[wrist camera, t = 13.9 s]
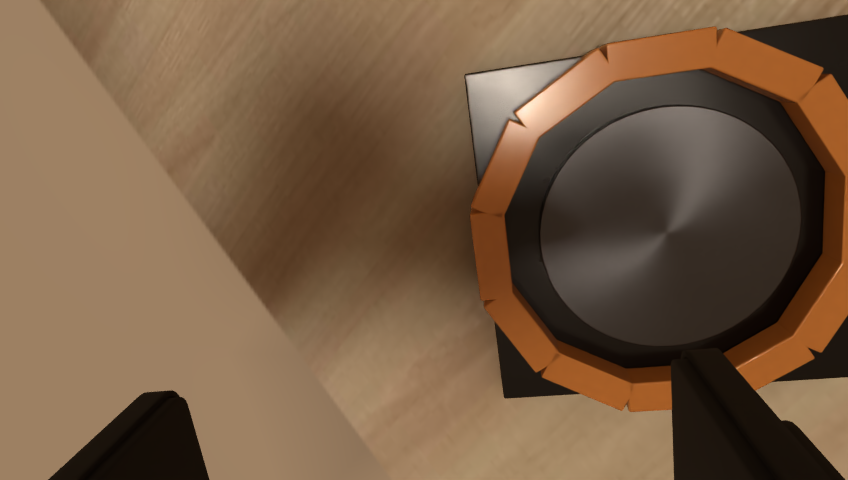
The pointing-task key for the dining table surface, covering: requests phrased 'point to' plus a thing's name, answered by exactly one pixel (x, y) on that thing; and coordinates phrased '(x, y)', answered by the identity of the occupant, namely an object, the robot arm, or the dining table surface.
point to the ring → (651, 56)
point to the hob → (662, 211)
